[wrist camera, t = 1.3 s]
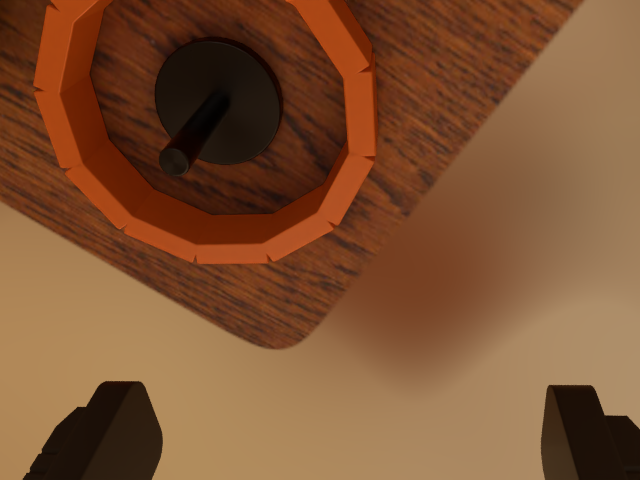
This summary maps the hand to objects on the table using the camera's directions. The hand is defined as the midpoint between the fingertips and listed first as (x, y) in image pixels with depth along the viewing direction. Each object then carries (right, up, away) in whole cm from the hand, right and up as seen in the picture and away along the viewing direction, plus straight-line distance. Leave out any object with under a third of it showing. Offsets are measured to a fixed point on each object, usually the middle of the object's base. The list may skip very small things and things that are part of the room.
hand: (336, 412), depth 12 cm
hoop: (-5, +10, +16) cm, 20 cm away
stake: (-5, +10, +16) cm, 20 cm away
